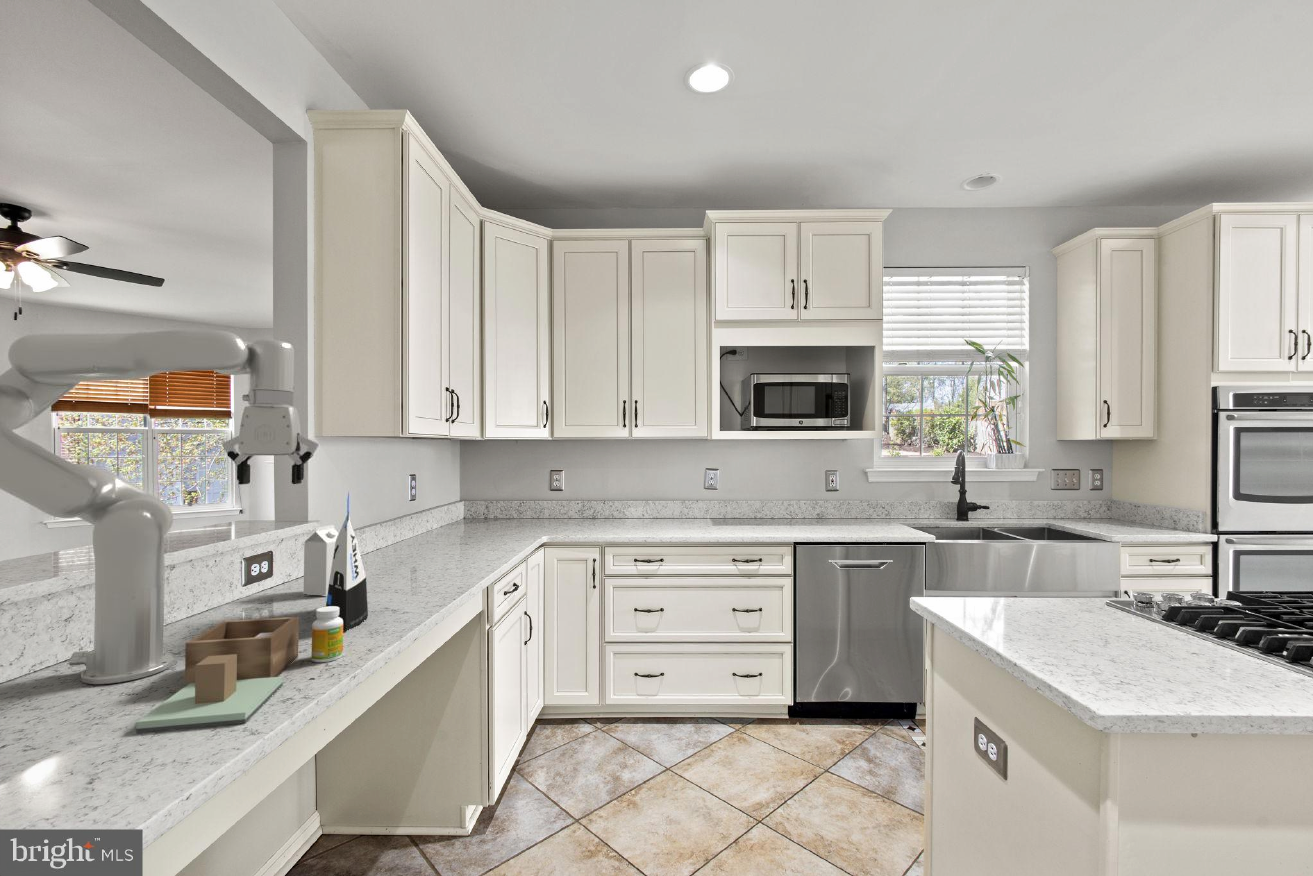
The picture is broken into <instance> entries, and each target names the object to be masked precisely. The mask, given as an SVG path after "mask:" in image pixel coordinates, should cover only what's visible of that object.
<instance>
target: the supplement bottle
mask: <svg viewBox="0 0 1313 876" xmlns="http://www.w3.org/2000/svg"><path fill="white" fill-rule="evenodd" d="M338 615H339V607H337V606H328V607H326V606H323V607H319V608H317V609H316V612H315V617H316V620H314V621H313V623H312V625H311V655H310V657H311V661H312V662H314V663H326V662H327V663H329V662H333V661H336V660H338V659H340V658H342V656H343V653H344V651H343V649H344V631H343V620H342V618H340V617H338Z"/></svg>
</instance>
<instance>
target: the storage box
mask: <svg viewBox="0 0 1313 876" xmlns="http://www.w3.org/2000/svg"><path fill="white" fill-rule="evenodd" d="M299 618H300V617H299V616H291V617H290V616H288V617H275V618H274V617H271V618H253V619H252V618H251V619H250V618H249V619H232V620H223V621H221V622H219V623H218V624H216V625H215V626H212V627H210V628H209V629H207V630H205V631H204V632H202V633H201V634H199V635H197V636H196V637H193V638H192V639H190V640H189V641H187V642H185V652H184V653H185V658H184V659H185V660H184V661H185V662H184V668H185V669H184V687H186V686H187V685H188V684H190V683H195V669H196V665H197V664H198V663H200V662H201V661H202V660H204V659H205V658H207V657H208V656H218V655H233V654H237V680H243V679H256V678H270V677H280V675H282V673H283V672H284V671H285V670H287V668H289V667H290V666H291V663H292V662H293V661H294V662H295V661H296V660H298V658H299V626H300V625H299V621H300V619H299ZM294 662H293V663H294ZM293 663H292V664H293Z"/></svg>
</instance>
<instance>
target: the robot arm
mask: <svg viewBox="0 0 1313 876" xmlns="http://www.w3.org/2000/svg"><path fill="white" fill-rule="evenodd" d="M9 346H10V347H9V349H8V353H7V357H8V361H9V364H10V366H11V367H9V368H8V369H7V370H6V371H5V372H3V373H2V374H0V490H1V491H3V492H6V493H7V494H10V495H11V496H13V497H15V498H18V500H20V501H23V502H25V503H27V504H29V505H30V506H33V507H34V508H36V509H38V510H40V511H41V512H43V513H45V514H47V515H50V516H52V517H54V518H58V519H59V518H60V519H73V518H79V519H81V520H83V521H85V522H87V523H88V524H91V525H93V530H92V546H93V547H92V548H93V556H94V573H95V574H94V591H95V592H94V625H93V626H94V628H93V629H94V631H93V632H94V633H93V634H94V636H93V639H94V640H93V650H89V651H88V650H80V651H78V650H77V651H73V653H71V656H70V659H69V661H68V664H69V666H81V665H84V666H85V669H84V671H82V672H81V674H80V680H81V682H82V683H85V684H89V685H106V684H107V685H109V684H118V683H123V682H129V681H133V680H138V679H142V678H143V679H144V678H146V677H149V676H153V675H155V674H158V673H160V672H163V671H165V670H167V669H169V668H170V667H172V665H174V659H175V658H174V656H173V655H171V654H169V653H164V632H165V631H164V628H165V625H164V624H165V623H164V622H165V621H164V620H165V586H166V585H165V571H166V570H165V545H164V540H165V535H167V534H168V533H169V531H170V530H171V528H172V526H173V523H174V522H173V521H174V517H173V516H174V515H173V512H172V509H171V508H170V507H169V505H168V504H167V503H166V502H165V501H163V500H161V499H160V498H159V497H157V496H155V495H153V494H151V493H150V492H148V491H146V490H144V489H142V488H140V487H138V486H136V485H135V484H133V483H132V482H129V481H128V480H126V479H124V478H123V477H121V476H119V475H118V474H116V473H113V471H109V470H107V469H106V468H103V467H100V466H97V465H92V464H85V463H79V464H78V463H73V462H71V461H68V460H67V459H65V458H63V457H61V456H59V455H57V454H55V453H53V452H51V451H50V450H48V449H47V448H44V447H43V446H41V445H39V444H38V443H36V442H33V441H32V440H30V439H28V438H25V437H23V436H21V435H19V434H17V433H16V432H15V431H14V430H17V429H21V428H22V427H24V426H25V425H27V424H29V423H31V422H32V421H33V420H35V419H36V418H37V417H39V416H40V415H41V414H43V413H44V412H45V411H46V410H48V409H49V408H51V406H53V405H54V404H55V403H56V402H58V401H59V400H60V399H62V398H63V397H65V396H66V395H67V394H68V393H69V392H71V391H72V390H73V389H74V388H75V387H77V386H78V385H79V384H80V383H81V382H94V381H95V382H97V381H99V382H100V381H121V380H122V381H128V380H139V379H146V378H149V377H151V376H154V375H158V374H163V373H170V372H185V371H186V372H187V371H190V372H191V371H214V372H216V373H218V374H221V375H226V376H227V375H228V376H236V375H237V376H239V375H240V376H241V375H249V390H248V393H247V394H243V395H242V397H241V398H242V401H243V402H248V405H249V406H244V408H243V412H242V416H241V421H240V425H239V433H238V436H235V437H232V438H230V439H229V440H227V441H224V442H223V443H222V445H221V446H222V448H223V449H224V451H225V453H226V454H227V455H226V456H228V457H229V459H231V460H232V461H233V463H234V464H235V465H236V467H237V468H236V480H237V481H238V485H248V484H250V483H251V465H250V463H249V461H250V460H251V459H252V458H253V457H254V456H288V457H289V458H290V459H291V460H292V461H293V464H292V466H291V484H292V485H299V484H302V483H303V482H302V481H303V480H304V479H305V474H304V472H305V464H306V463H307V462H308V461H309V460H310V459H311V458H312V457H313V456H314V454H315V453H316V450H318V447H319V443H318V442H316V441H314V440H312V439H309V438H308V437H305V436H304V435H302V433H301V432H302V431H301V425H300V424H301V422H300V416H299V413H298V408H297V407H294V398H295V397H294V394H295V393H294V392H295V391H294V390H295V389H294V387H295V385H294V383H295V380H294V379H295V349H294V346H293V345H292V344H291V343H290V342H287V341H285V340H284V341H283V340H278V339H270V338H269V339H268V338H267V339H265V338H264V339H260V338H259V339H255V340H254V341H250V342H249V341H245V340H243V339H242V338H241V337H240V336H238V335H237V334H236V333H233V332H230V331H226V330H216V329H210V330H209V329H207V330H206V329H204V330H202V329H199V330H198V329H192V330H191V329H190V330H189V329H188V330H187V329H185V330H182V329H181V330H180V329H179V330H175V329H173V330H158V331H144V332H143V331H142V332H141V331H140V332H128V333H127V332H124V333H119V332H117V333H115V332H113V333H111V332H109V333H36V334H35V333H34V334H29V335H28V334H27V335H24V336H21V337H19V338H18V339H16V340H14V341H13V342H12V343H11V345H9ZM302 444H303V445H304V446H306V447H307V449H306V451H305V452H304V453H303V454H301V449H302ZM237 445H238V451H236V448H235V446H237Z"/></svg>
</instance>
